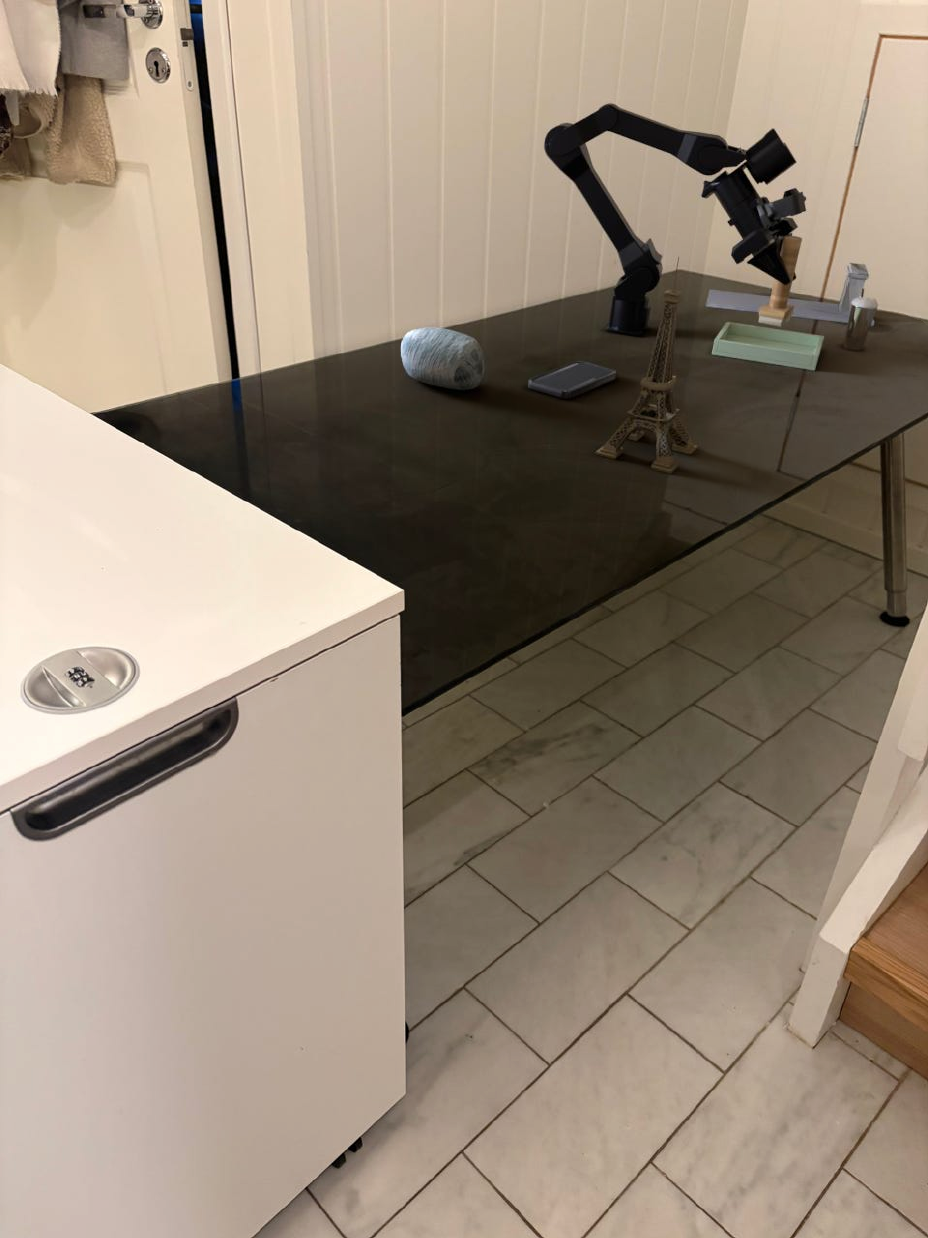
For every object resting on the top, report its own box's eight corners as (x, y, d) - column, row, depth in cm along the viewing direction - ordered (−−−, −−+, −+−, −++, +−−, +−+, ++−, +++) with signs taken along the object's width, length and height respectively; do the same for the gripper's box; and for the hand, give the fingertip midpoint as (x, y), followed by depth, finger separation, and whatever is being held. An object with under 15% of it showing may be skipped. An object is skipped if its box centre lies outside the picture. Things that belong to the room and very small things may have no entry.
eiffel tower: (625, 430, 134) (653, 243, 120) (697, 448, 129) (734, 256, 116) (595, 454, 126) (621, 257, 112) (670, 473, 122) (707, 271, 108)
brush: (781, 327, 164) (801, 241, 157) (756, 322, 166) (775, 237, 158) (791, 320, 168) (810, 236, 161) (766, 315, 170) (785, 232, 163)
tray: (711, 354, 167) (714, 339, 166) (723, 335, 178) (726, 321, 177) (814, 370, 162) (818, 355, 161) (820, 350, 173) (824, 335, 172)
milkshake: (860, 344, 178) (876, 289, 172) (868, 352, 173) (884, 296, 168) (836, 342, 178) (850, 287, 173) (843, 350, 173) (857, 294, 168)
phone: (525, 380, 146) (578, 359, 156) (525, 387, 147) (577, 366, 157) (568, 392, 142) (619, 370, 152) (567, 400, 143) (618, 377, 153)
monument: (873, 325, 189) (887, 275, 184) (705, 306, 196) (714, 257, 191) (868, 310, 200) (881, 263, 195) (709, 292, 206) (717, 246, 201)
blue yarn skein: (505, 364, 146) (479, 309, 139) (475, 406, 142) (446, 352, 135) (439, 365, 154) (411, 314, 148) (408, 404, 150) (378, 354, 144)
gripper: (766, 176, 149) (818, 261, 151) (798, 166, 163) (846, 244, 164) (709, 222, 157) (759, 302, 158) (744, 209, 170) (790, 283, 172)
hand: (791, 281), depth 163 cm, fingers closed on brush, 3 cm apart
